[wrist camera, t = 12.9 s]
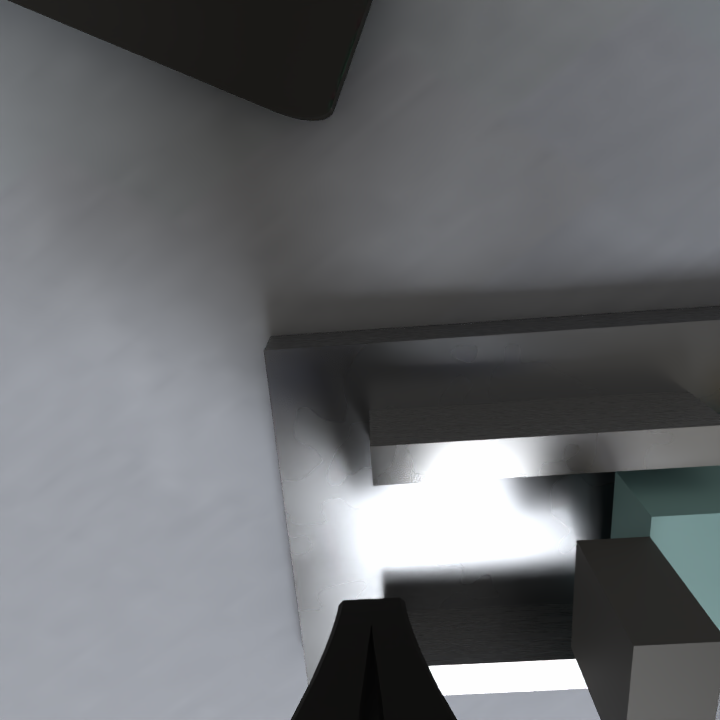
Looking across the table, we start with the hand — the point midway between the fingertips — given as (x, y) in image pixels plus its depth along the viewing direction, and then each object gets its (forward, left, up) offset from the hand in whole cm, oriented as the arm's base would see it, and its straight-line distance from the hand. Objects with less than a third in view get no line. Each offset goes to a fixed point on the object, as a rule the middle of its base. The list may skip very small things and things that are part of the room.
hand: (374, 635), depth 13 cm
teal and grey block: (-8, 0, -3) cm, 8 cm away
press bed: (-8, 0, -5) cm, 9 cm away
